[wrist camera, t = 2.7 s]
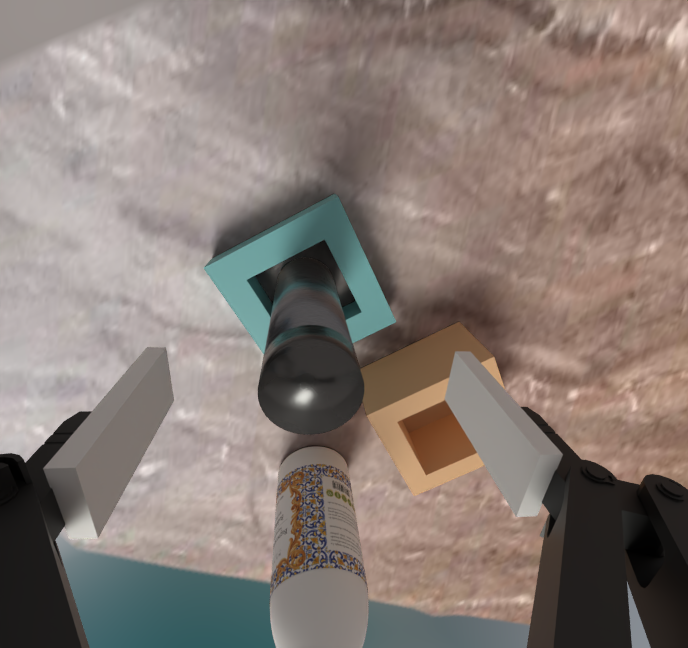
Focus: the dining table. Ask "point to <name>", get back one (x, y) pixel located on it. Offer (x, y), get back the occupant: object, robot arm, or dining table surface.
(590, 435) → the dining table surface
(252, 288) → the mount
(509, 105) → the dining table surface
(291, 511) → the bath foam
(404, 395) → the socket
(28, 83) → the dining table surface
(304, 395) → the pin
